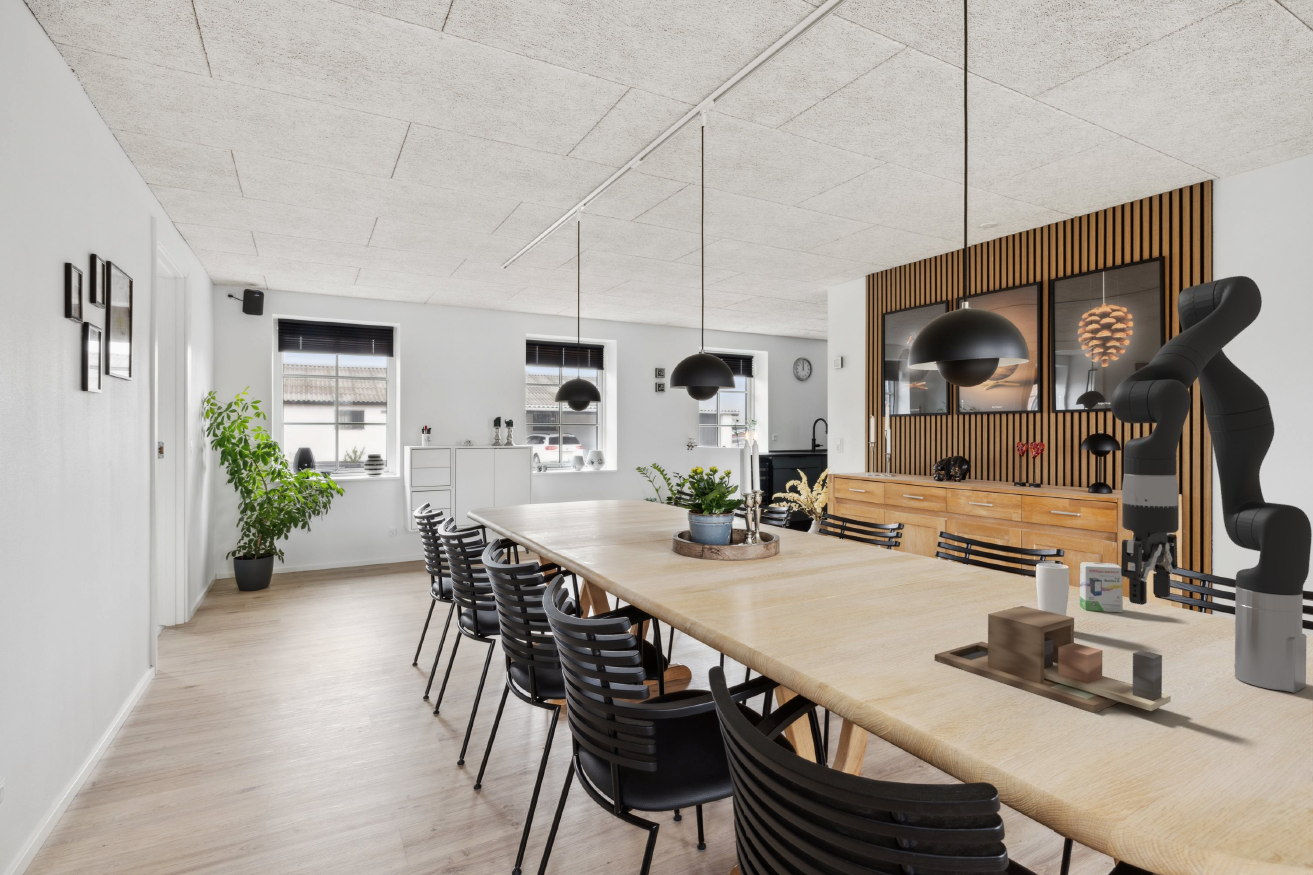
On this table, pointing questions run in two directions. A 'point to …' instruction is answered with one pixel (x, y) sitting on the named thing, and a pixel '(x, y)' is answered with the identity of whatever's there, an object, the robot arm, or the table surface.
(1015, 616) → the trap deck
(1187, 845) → the table surface
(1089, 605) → the ink box
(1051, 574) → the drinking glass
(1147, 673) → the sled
